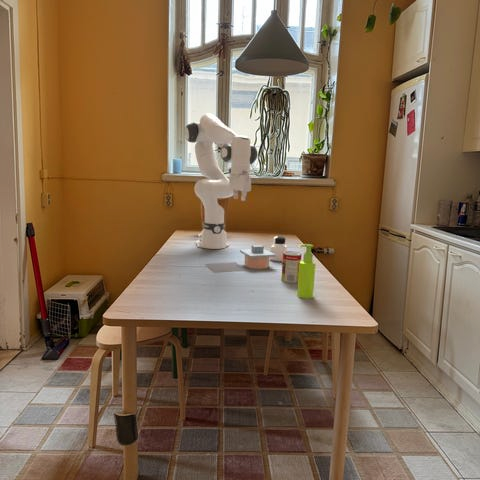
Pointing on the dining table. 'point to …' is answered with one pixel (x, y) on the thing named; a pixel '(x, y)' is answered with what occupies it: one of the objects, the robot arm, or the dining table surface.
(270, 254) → the lid
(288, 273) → the canned food
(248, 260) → the bowl
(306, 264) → the soap dispenser
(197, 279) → the dining table surface
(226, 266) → the mat
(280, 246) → the medicine bottle
